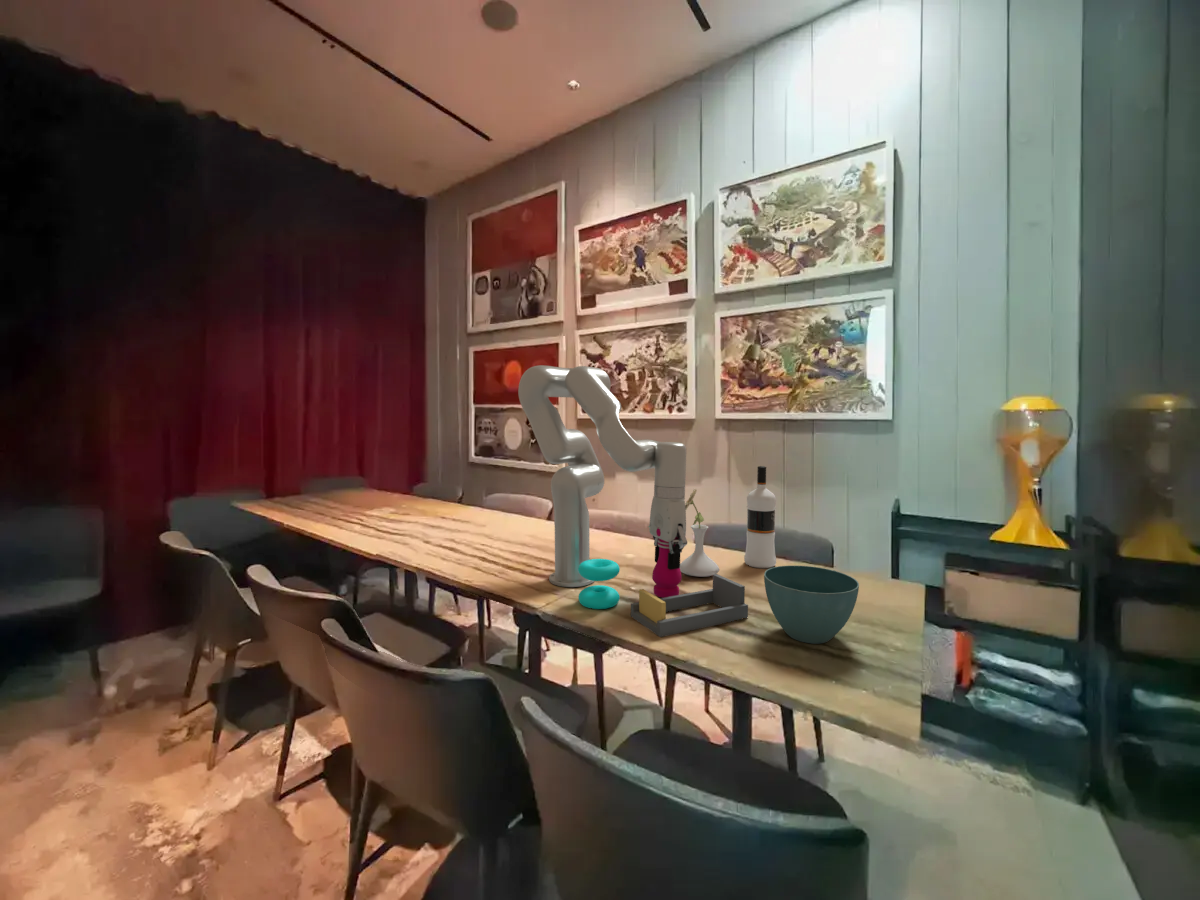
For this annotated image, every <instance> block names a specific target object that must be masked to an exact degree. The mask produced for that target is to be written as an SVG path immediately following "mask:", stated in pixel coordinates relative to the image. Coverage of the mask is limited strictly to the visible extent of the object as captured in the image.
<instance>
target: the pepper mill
mask: <svg viewBox="0 0 1200 900" xmlns="http://www.w3.org/2000/svg"><path fill="white" fill-rule="evenodd" d="M658 528H659V527H658ZM658 528H657V531H656V533H657V536H660V535H661V532H660V529H658ZM677 538H678V537H675V539H674V540H677ZM676 544H677V543H676V542H674V543H673V545H674V546H675V545H676ZM658 546H659V558H658V561H657V563H656V562H655V563H656V564H655V565H654V567H653V571H652V574H651V578H652V581H653V582H654V583H655V584H654V585H653V595H654V596H656V597H658V598H665V597H670V596H676V595H680V587H679V584H680V583H681V582H682V572H681V571H680V568H678V569H671V570H670V569H668V553H670V549H669V542H666V541H664V540H662V539H659V540H658Z"/></svg>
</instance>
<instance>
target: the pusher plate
mask: <svg viewBox="0 0 1200 900" xmlns="http://www.w3.org/2000/svg"><path fill="white" fill-rule="evenodd" d="M638 594H639V595H638V598H639V599H638V602H639V612H640V613H642V614H643V615H645V616H646V617H648V618H649V619H651V620H652V621H654V622H655V623H657V621H659V620H664V619H667V618H666V613H667V612H666V602H664V601H663V600H661V599H659V598H660V597H658V596H656V595H655V594H652V593H651V592H649V591H647V590H645V589H644V588H641V589H638Z"/></svg>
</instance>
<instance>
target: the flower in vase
mask: <svg viewBox="0 0 1200 900" xmlns="http://www.w3.org/2000/svg"><path fill="white" fill-rule="evenodd" d="M696 493H697V488H693V491H692V493H690V496H689V498H688V499H687V501H686V502H685V509H686V510H688V508H689V506H691V505H693V507H694V509H695V511H696V515H695V517H694V521H693V523H692V525H690V528H691V530H692V531H693V534H694V541H695V542H694V543H695V546H694V547H695V548H694V551H693V552H692V554H690V555H689V556H687V557H686V558H685V559H684V560H682V561H681V562H680V571H681V573H682V574H685V575H687V576H690V577H699V578H701V577H703V578H705V577H707V578H708V577H710V576H711V577H713V575H714V574H718V573H719V572H720V567H719V565H718V564H717V563H716V562H715V561H714V560H713V559H712V558H710V557H709V556H708V554H706V552H705V550H704V539H705V534H706V532H707V530H708V529H709V526H708V525H706V524H701V523H703V522H704V521H705V519H704V516H703V514H702V513H701V511H700V512H699V511H698V509H697V506H696V505H695V503H694V498H695V496H696ZM697 523H698V524H697Z"/></svg>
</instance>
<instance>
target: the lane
mask: <svg viewBox="0 0 1200 900" xmlns="http://www.w3.org/2000/svg"><path fill="white" fill-rule="evenodd" d="M745 588H746V586H745V585H743V584H741V583H739V582H736V581H734V580H732V579H729V578H727V577H724V576H723V575H720V574H718V573H717V574H714V575H712V588H709V589H706V590H705V589H704V590H700V591H693V592H687V593H683V594H679V595H676V596H670V597H665V598H662V597H658V598H659V599H661V600H663V601H664V602H666V613H667V612H668V611H669V612H673V611H672V610H674V611H678V610H677V609H679V610H683V609H682V608H684V609H687V608H688V607H689V608H693V607H692V606H694V607H698V606H697V605H700V606H703V605H702V604H705V605H708V604H707V603H710V604H713V603H715V604H716V606H717V605H719V606H721V607H722V608H721V607H719V606H718V607H719V608H715V609H711V610H704V611H699V612H695V613H690V614H685V615H680V616H675V617H670V618H666V619H664V620H659V621H657V623H655V622H654V621H652V620H651V619H649V618H648V617H646V616H645V615H643V614H642V613H640V612H639V601H638V602H637V601H636V602H632V603H630V617H631V618H632V617H633V618H632V619H634V620H635V621H636V620H637V622H638V623H639V622H640V624H641V625H642V626H644V627H645V628H646V629H648V630H650V632H651V633H653V634H655V635H656V636H658V637H659V638H661V637H667V636H671V635H676V634H680V633H685V632H690V630H691V631H695V630H700V629H704V628H708V627H713V626H717V625H722V623H723V624H726V622H728V623H731V621H732V622H735V621H734V620H737V621H739V620H738V619H741V620H743V619H742V618H746V619H748V618H749V605H748V604H747V603H745V601H746V600H745V599H746V598H745V594H746V591H745V590H746V589H745ZM712 602H713V603H712ZM715 604H714V605H715ZM747 617H748V618H747ZM699 628H700V629H699Z"/></svg>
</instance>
